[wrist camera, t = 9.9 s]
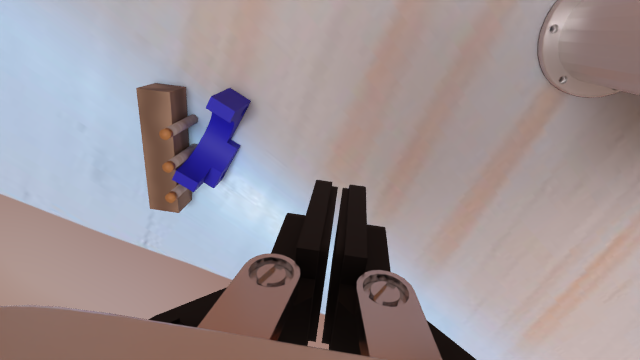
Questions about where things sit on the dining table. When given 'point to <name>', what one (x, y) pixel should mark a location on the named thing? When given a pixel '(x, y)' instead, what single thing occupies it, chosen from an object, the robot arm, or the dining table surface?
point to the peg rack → (165, 143)
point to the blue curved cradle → (214, 142)
